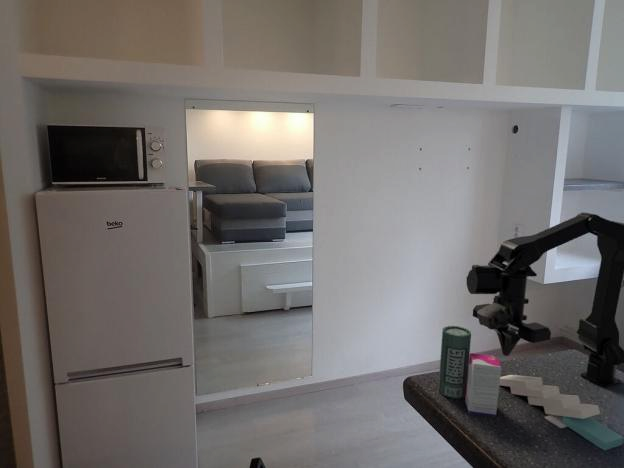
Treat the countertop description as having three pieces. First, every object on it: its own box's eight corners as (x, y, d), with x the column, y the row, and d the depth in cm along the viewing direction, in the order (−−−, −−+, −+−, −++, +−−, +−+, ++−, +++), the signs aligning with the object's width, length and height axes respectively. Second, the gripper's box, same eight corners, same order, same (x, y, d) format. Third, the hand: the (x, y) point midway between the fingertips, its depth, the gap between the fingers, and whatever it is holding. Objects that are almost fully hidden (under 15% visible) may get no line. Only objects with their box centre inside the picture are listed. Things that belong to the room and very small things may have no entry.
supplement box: (497, 417, 95) (502, 367, 93) (467, 413, 96) (472, 363, 94) (491, 403, 100) (496, 355, 98) (464, 399, 101) (468, 352, 100)
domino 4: (543, 405, 97) (580, 410, 88) (560, 401, 98) (598, 405, 90) (545, 413, 96) (582, 418, 88) (562, 409, 98) (600, 413, 90)
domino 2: (510, 386, 105) (542, 390, 97) (525, 382, 107) (558, 386, 99) (511, 393, 105) (543, 398, 96) (527, 389, 106) (560, 394, 98)
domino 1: (495, 378, 109) (525, 381, 101) (511, 374, 111) (541, 377, 102) (496, 384, 108) (526, 388, 100) (512, 381, 110) (542, 384, 102)
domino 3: (527, 396, 100) (561, 400, 92) (543, 392, 102) (578, 395, 94) (529, 404, 100) (563, 408, 92) (545, 400, 102) (580, 403, 94)
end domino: (579, 418, 94) (621, 444, 86) (562, 422, 93) (604, 450, 84) (580, 411, 94) (623, 437, 86) (563, 415, 92) (605, 443, 84)
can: (464, 386, 107) (469, 327, 105) (466, 399, 101) (472, 337, 99) (438, 383, 109) (442, 324, 106) (439, 396, 103) (443, 334, 100)
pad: (570, 410, 98) (570, 409, 98) (587, 420, 94) (588, 419, 94) (544, 418, 95) (544, 416, 95) (561, 428, 91) (561, 427, 91)
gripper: (458, 286, 111) (453, 345, 114) (518, 309, 94) (511, 378, 97) (492, 282, 116) (486, 338, 118) (556, 304, 99) (548, 370, 101)
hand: (505, 355), depth 109 cm, fingers closed
